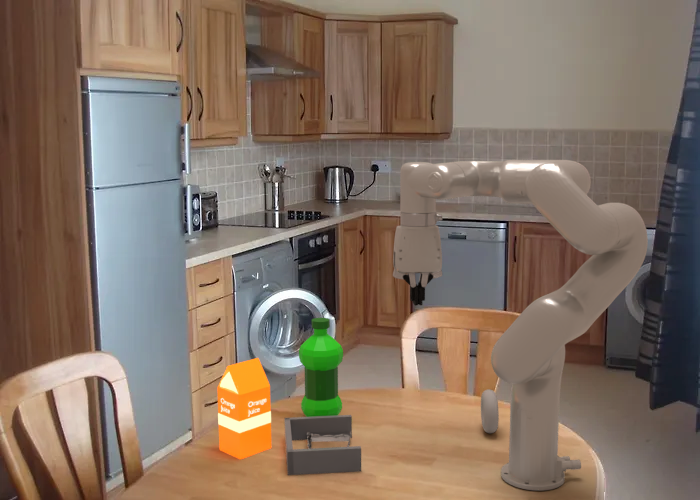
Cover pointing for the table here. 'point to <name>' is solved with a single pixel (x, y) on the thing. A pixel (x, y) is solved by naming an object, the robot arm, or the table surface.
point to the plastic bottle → (321, 371)
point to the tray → (320, 457)
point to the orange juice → (244, 410)
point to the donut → (489, 411)
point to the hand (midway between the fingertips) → (417, 303)
